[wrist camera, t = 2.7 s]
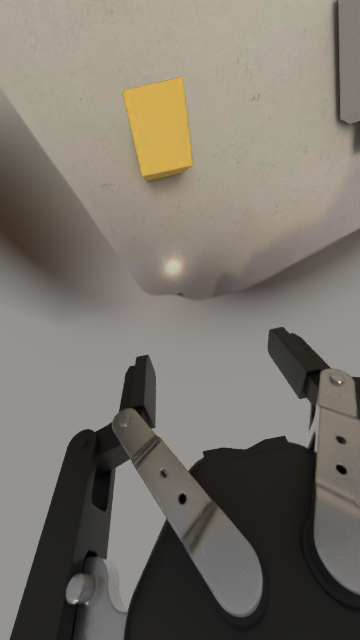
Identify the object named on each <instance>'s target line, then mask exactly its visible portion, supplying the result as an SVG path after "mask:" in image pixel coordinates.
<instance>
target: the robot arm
mask: <svg viewBox="0 0 360 640" xmlns="http://www.w3.org/2000/svg"><path fill="white" fill-rule="evenodd" d="M268 352H269V354H270V356H271V358H272V359H273V361H274V362H275V364H276V365H277V366H278V368H279V370H280V371H281V372H282V374H283V375H284V377H285V378H286V380H287V381H288V383H289V384H290V386H291V387H292V389H293V390H294V392H295V393H296V395H297V396H298V398H299V399H302V398H308V400H309V401H310V403H311V404H310V412H309V422H308V431H307V438H306V442H305V447H304V446H302V445H299V444H295V443H291V442H288V441H287V439H286V437H285V436H281V437H276V438H271V439H265V440H263V441H261V442H259V443H258V444H256V445H254V446H252V447H250V448H248V449H245V450H242V449H232V448H219V449H213V450H208V451H203V455H204V458H202V459H200V460H199V461H197V462H196V463H195V464H194V465H193V466H192V467H191V468H190V470H189V471H187V469H186V468H185V467H184V466H183V465H182V463H181V462H180V461H179V460H178V459H177V457H176V456H175V455H174V454H173V453H172V451H171V450H170V449H169V448H168V447H167V445H166V444H165V443H164V442H163V441H162V439H161V438H160V437H157V436H156V434H155V433H154V432H153V431H152V430H151V428H155V411H156V409H155V408H156V405H155V404H156V376H155V371H154V368H153V365H152V363H151V360H150V358H149V355H144V356H139V357H137V358H136V364H135V366H130V367H129V369H128V371H127V373H126V375H125V382H124V388H123V392H122V398H121V404H120V409H119V413H118V414H117V415H116V416H115V417H114V419H113V421H112V422H111V423H110V424H109V425H107V426H105V427H104V428H102V429H100V430H98V431H96V432H94V431H92V430H89V429H87V430H83V431H81V432H79V433H78V434H76V435H75V436H74V437H73V438H72V440H71V441H70V443H69V445H68V447H67V451H66V454H65V457H64V461H63V464H62V467H61V471H60V474H59V477H58V481H57V484H56V487H55V491H54V494H53V497H52V501H51V504H50V507H49V511H48V514H47V518H46V521H45V524H44V527H43V530H42V534H41V537H40V541H39V544H38V547H37V551H36V554H35V557H34V561H33V564H32V567H31V570H30V574H29V577H28V580H27V584H26V587H25V590H24V594H23V597H22V600H21V604H20V607H19V611H18V614H17V617H16V620H15V624H14V627H13V630H12V634H11V637H10V640H360V377H351V376H349V375H348V374H347V373H345V372H343V371H341V370H338V369H332V368H330V367H329V366H328V365H327V364H326V363H325V362H324V361H323V359H322V358H321V357H320V356H318V354H316V352H315V351H314V350H312V349H311V347H310V346H309V345H307V343H306V342H305V341H304V340H303V339H302V338H301V337H299V336H297V335H296V334H293V333H291V334H289V333H288V332H287V331H286V330H285V329H284V328H283V327H279V328H275V329H270V331H269V339H268ZM129 459H131V460H132V463H133V465H134V466H135V468H136V470H137V471H138V473H139V475H140V476H141V478H142V479H143V481H144V483H145V484H146V486H147V487H148V489H149V491H150V492H151V494H152V495H153V497H154V499H155V500H156V502H157V503H158V505H159V507H160V508H161V510H162V512H163V513H164V515H165V516H166V521H165V523H164V525H163V527H162V530H161V532H160V534H159V536H158V539H157V541H156V544H155V545H154V548H153V550H152V552H151V555H150V557H149V559H148V562H147V564H146V566H145V568H144V570H143V573H142V575H141V577H140V580H139V582H138V584H137V586H136V589H135V591H134V593H133V596H132V599H131V602H130V605H129V609H127V608H126V607H125V606H124V604H123V603H122V600H121V597H120V594H119V578H118V573H117V569H116V567H115V565H114V564H113V563H112V562H111V561H108V560H106V558H107V549H108V539H109V528H110V519H111V509H112V499H113V490H114V480H115V469H116V467H117V466H119V465H121V464H122V463H124V462H126V461H128V460H129Z"/></svg>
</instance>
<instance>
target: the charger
mask: <svg viewBox="0 0 360 640" xmlns="http://www.w3.org/2000/svg"><path fill="white" fill-rule="evenodd" d="M338 12H339V67H340V119H341V120H343V121H345V122H347V123H349V124H352V123H355V122H358V121H360V0H338Z"/></svg>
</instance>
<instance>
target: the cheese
mask: <svg viewBox="0 0 360 640" xmlns="http://www.w3.org/2000/svg"><path fill="white" fill-rule="evenodd" d="M122 94H123V98H124V102H125V107H126V111H127V115H128V119H129V124H130V128H131V132H132V136H133V141H134V145H135V149H136V153H137V158H138V162H139V166H140V170H141V175H142V177H143V178H144V179H145V180H147V181H149V180H154V179H158V178H163V177H167V176H172V175H176V174H181V173H182V172H184V171H185V170H187V169H188V168H190V167H191V166H193V162H192V153H191V144H190V135H189V126H188V118H187V109H186V100H185V91H184V82H183V77H179V78H175V79H171V80H166V81H162V82H158V83H153V84H149V85H145V86H140V87H136V88H132V89H127V90H123V91H122Z"/></svg>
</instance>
